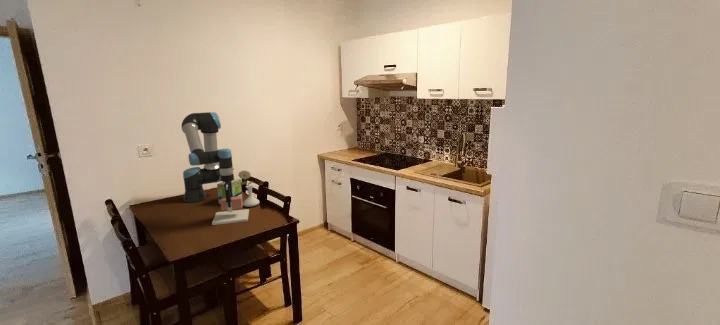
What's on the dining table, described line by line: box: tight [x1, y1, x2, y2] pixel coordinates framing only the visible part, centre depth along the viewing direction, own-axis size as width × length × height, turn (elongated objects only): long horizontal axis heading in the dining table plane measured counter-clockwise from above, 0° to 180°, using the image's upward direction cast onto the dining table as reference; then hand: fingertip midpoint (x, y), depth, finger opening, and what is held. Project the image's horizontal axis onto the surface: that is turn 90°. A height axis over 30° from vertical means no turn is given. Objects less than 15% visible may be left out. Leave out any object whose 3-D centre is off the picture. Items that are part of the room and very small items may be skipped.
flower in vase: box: [238, 170, 260, 208], centre depth 228 cm, size 13×11×25 cm
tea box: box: [216, 178, 243, 205], centre depth 238 cm, size 15×10×15 cm, turn 168°
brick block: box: [220, 195, 244, 211], centre depth 206 cm, size 6×6×12 cm
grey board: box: [211, 208, 250, 226], centre depth 208 cm, size 18×20×2 cm
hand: (230, 210), depth 207 cm, fingers closed on brick block, 6 cm apart
